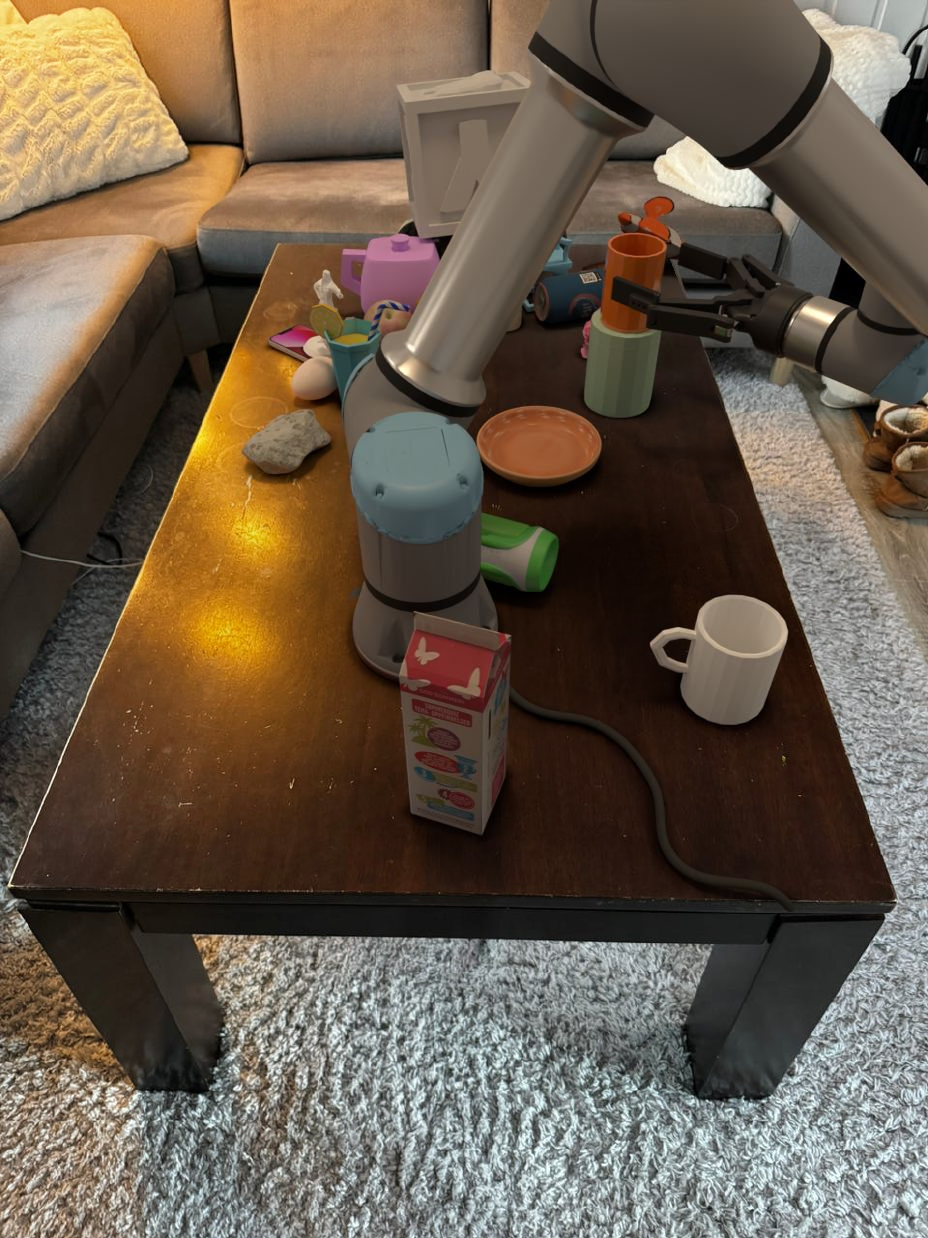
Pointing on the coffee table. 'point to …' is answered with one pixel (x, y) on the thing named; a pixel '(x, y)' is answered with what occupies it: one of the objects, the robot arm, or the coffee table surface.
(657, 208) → the fish
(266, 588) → the coffee table surface
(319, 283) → the figurine
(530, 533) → the speaker
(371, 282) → the teapot
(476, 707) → the juice carton
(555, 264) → the phone stand
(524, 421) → the saucer
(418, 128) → the decorative block
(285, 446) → the decorative stone
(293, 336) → the smartphone
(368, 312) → the apple
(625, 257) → the orange cup
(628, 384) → the green jar
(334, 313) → the cup
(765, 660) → the mug
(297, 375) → the egg
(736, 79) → the robot arm
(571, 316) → the soda can
